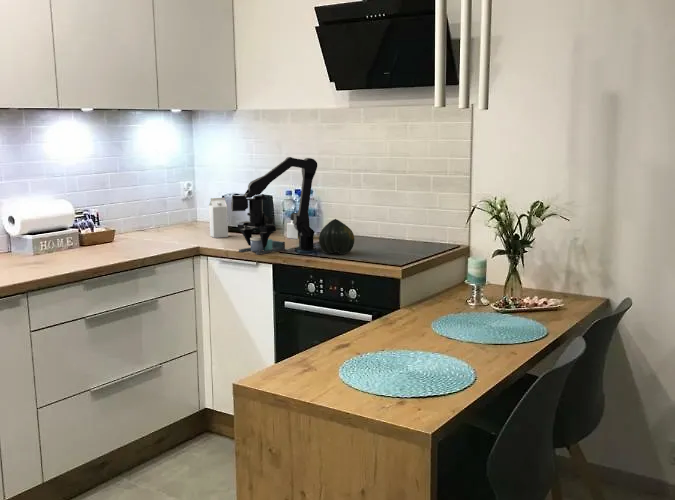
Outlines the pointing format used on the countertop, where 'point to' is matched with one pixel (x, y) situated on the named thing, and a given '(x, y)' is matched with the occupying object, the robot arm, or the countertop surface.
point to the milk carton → (218, 218)
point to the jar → (256, 244)
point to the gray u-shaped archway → (275, 247)
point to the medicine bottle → (292, 229)
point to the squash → (336, 238)
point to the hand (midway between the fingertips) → (257, 246)
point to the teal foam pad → (268, 245)
